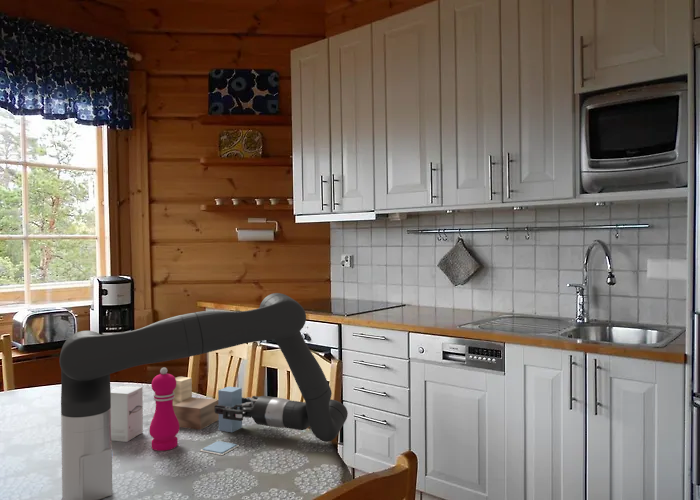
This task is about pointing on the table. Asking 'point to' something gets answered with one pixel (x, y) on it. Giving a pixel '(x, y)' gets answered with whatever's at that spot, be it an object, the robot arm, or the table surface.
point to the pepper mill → (164, 413)
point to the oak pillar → (182, 389)
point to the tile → (219, 448)
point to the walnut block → (196, 413)
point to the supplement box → (126, 413)
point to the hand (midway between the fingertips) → (225, 404)
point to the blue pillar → (229, 398)
